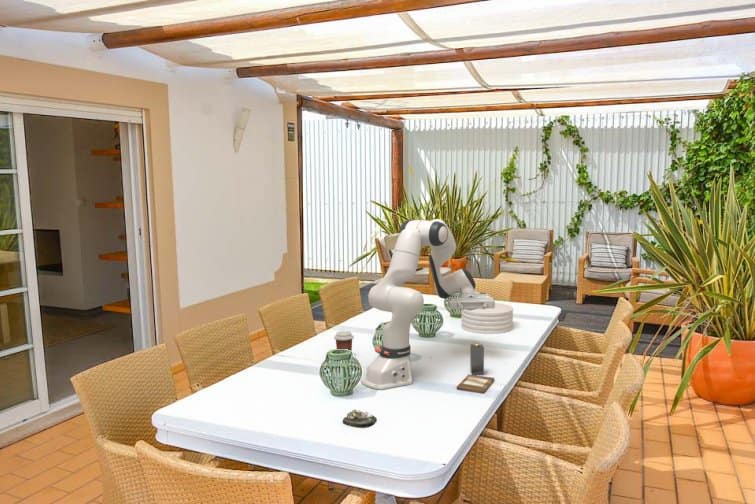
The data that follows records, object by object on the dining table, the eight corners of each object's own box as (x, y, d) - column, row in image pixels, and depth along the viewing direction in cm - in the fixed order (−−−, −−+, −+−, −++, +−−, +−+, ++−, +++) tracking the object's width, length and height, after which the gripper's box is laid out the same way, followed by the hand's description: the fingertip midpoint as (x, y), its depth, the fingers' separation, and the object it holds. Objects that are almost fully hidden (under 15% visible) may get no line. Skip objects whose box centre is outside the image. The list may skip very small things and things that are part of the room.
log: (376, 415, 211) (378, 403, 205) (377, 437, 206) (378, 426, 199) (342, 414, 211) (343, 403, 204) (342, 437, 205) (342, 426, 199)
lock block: (471, 375, 251) (471, 345, 249) (470, 371, 256) (470, 342, 254) (483, 375, 250) (483, 345, 249) (482, 371, 255) (482, 342, 254)
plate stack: (502, 336, 310) (502, 315, 309) (453, 330, 325) (453, 309, 324) (519, 325, 334) (519, 305, 333) (473, 319, 349) (473, 300, 347)
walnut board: (483, 393, 229) (483, 390, 229) (456, 389, 234) (456, 386, 234) (494, 380, 244) (494, 377, 244) (468, 377, 248) (468, 373, 248)
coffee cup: (341, 353, 284) (340, 329, 283) (357, 356, 280) (357, 331, 278) (330, 359, 276) (330, 334, 275) (347, 361, 272) (347, 336, 271)
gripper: (447, 294, 276) (449, 301, 262) (492, 293, 275) (496, 300, 261) (447, 307, 276) (450, 315, 263) (492, 306, 276) (496, 314, 262)
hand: (473, 307), depth 262 cm, fingers open, 8 cm apart
